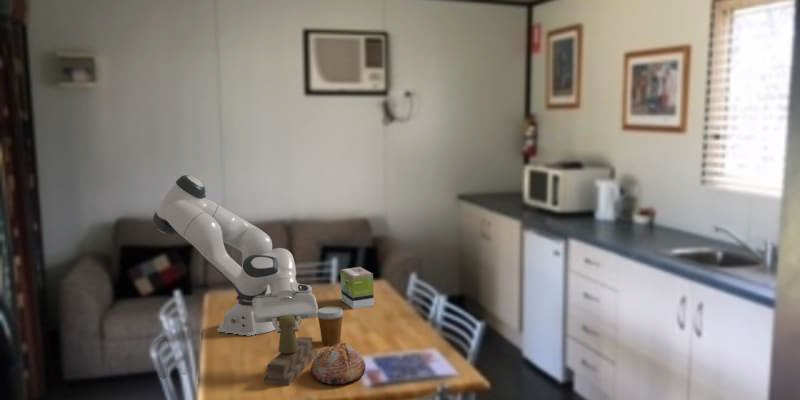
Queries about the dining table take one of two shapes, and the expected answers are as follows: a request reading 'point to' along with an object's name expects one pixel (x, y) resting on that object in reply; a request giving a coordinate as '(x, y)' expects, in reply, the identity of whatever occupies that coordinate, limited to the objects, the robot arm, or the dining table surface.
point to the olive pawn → (287, 335)
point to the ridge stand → (290, 363)
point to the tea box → (357, 287)
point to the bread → (338, 365)
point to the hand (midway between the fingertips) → (287, 331)
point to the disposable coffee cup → (330, 324)
